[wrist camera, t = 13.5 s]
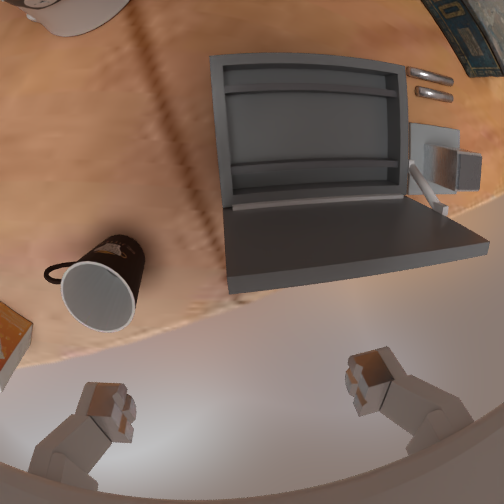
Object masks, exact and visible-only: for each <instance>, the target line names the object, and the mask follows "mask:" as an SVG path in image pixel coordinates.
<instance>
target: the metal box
mask: <svg viewBox="0 0 504 504" xmlns="http://www.w3.org/2000/svg"><path fill="white" fill-rule="evenodd" d="M422 2H423V3H424V4H425V6H426V7H427V9H428V10H429V12H430V13H431V14H432V16H433V18H434V19H435V21H436V22H437V24H438V25H439V27H440V28H441V30H442V31H443V33H444V34H445V36H446V38H447V39H448V41H449V43H450V44H451V46H452V48H453V50H454V51H455V53H456V54H457V56H458V58H459V60H460V61H461V63H462V65H463V67H464V69H465V71H466V73H467V75H468V76H469V77H472V78H473V77H489V76H493V77H504V0H422Z"/></svg>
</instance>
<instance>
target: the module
mask: <svg viewBox="0 0 504 504" xmlns="http://www.w3.org/2000/svg"><path fill="white" fill-rule="evenodd" d="M481 165H482V156H481V154H480V153H476V152H472V151H468V150H463V149H459V148H455V147H450V146H443V145H432V144H424V161H423V177H424V178H425V180H427V181H430V182H432V183H435V184H438V185H440V186H443V187H445V188H448V189H450V190H453V191H479V189H480V178H481Z"/></svg>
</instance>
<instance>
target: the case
mask: <svg viewBox="0 0 504 504" xmlns="http://www.w3.org/2000/svg"><path fill="white" fill-rule="evenodd" d="M209 57H210V71H211V84H212V97H213V109H214V121H215V132H216V144H217V154H218V165H219V175H220V185H221V195H222V205H223V220H224V238H225V255H226V271H227V282H228V290H229V294H238V293H246V292H255V291H264V290H272V289H280V288H288V287H295V286H303V285H310V284H318V283H325V282H332V281H338V280H345V279H352V278H359V277H365V276H372V275H378V274H384V273H390V272H396V271H402V270H408V269H414V268H419V267H424V266H430V265H436V264H441V263H446V262H452V261H457V260H462V259H467V258H472V257H477V256H482V255H486V254H487V252H488V248H489V243H490V241H488V240H486V239H485V238H483V237H481V236H480V235H478V234H476V233H474V232H473V231H471V230H469V229H467V228H466V227H464V226H462V225H460V224H458V223H457V222H455V221H453V220H451V219H450V218H448V217H446V215H447V214H448V206H447V205H445V204H443V203H440V201H439V200H438V198H437V197H436V195H435V193H434V192H433V190H432V189H431V187H430V186H429V184H428V183H427V181H426V180H425V178H424V177H423V175H422V174H421V172H420V171H419V170H418V168H417V167H416V165H415V164H414V160H410V159H408V99H407V83H406V71H405V66H402V65H397V64H392V63H387V62H381V61H375V60H368V59H362V58H354V57H345V56H336V55H324V54H309V53H243V54H227V55H215V56H209ZM408 173H410V174H411V176H412V177H413V179H414V180H415V182H416V183H417V185H418V186H419V188H420V189H421V191H422V193H423V194H424V196H425V197H426V199H427V201H428V202H429V204H430V206H431V207H432V209H431V208H429V207H427V206H425V205H423V204H421V203H419V202H417V201H415V200H413V199H411V198H408V197H406V196H404V195H406V193H407V176H408Z"/></svg>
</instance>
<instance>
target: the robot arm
mask: <svg viewBox="0 0 504 504" xmlns="http://www.w3.org/2000/svg"><path fill="white" fill-rule="evenodd" d="M2 1H5V2H7V3H10V4H12V5H14V6H17V7H18V8H20V9H21V10H23V11H24V12H25V13H27V18H28V19H30V20H31V21H34V22H39V23H41V24H42V25H43V26H44V27H45V28H46V29H47V30H48V31H49V32H51V33H52V34H54V35H57V36H63V37H68V36H76V35H80V34H83V33H86V32H89V31H91V30H93V29H95V28H97V27H99V26H100V25H102V24H104V23H105V22H107V21H108V20H109V19H111V18H112V17H113V16H115V15H116V14H117V13H118V12H119V11H120V10H121V9H122V8H123V7H124V6H125V5H126V4H127V3H128V2H129V0H2ZM348 365H349V369H348V370H347V371H346V375H345V382H346V387H347V390H348V392H349V394H350V395H351V396H353V397H355V398H354V402H353V404H354V406H355V409H356V411H357V413H358V416H359V417H360V416H363V415H367V414H370V413H374V412H377V411H380V412H381V413H382V414H383V415H385V416H386V417H387V418H389V419H390V420H392V421H393V422H394V423H396V424H397V425H399V426H400V427H402V428H403V429H404V430H406V431H407V432H409V433H410V434H412V435H413V438H412V439H411V441H410V442H409V444H408V445H407V447H406V450H407V453H408V455H409V456H407V457H405V458H402V459H400V460H397V461H395V462H392V463H390V464H387V465H385V466H382V467H379V468H376V469H373V470H371V471H368V472H365V473H362V474H358V475H355V476H352V477H349V478H346V479H342V480H338V481H334V482H331V483H327V484H323V485H318V486H314V487H310V488H305V489H301V490H295V491H290V492H284V493H278V494H271V495H264V496H256V497H247V498H235V499H218V500H167V499H153V498H141V497H132V496H124V495H117V494H111V493H104V492H99V491H97V490H98V483H97V481H96V480H94V479H93V478H92V477H91V476H89V475H88V473H89V472H90V471H91V469H92V468H93V467H94V466H95V464H96V463H97V462H98V460H99V459H100V458H101V457H102V455H103V454H104V453H105V452H106V450H107V449H108V448H109V447H110V445H111V444H112V442H120V443H121V442H122V443H131V442H132V437H133V431H134V428H133V427H132V425H131V423H132V422H133V421H134V420H135V419H136V405H135V402H134V400H133V398H132V397H131V396H130V395H128V394H127V388H126V386H125V385H124V384H121V383H98V382H88V383H86V384H85V386H84V389H83V392H82V394H81V398H80V400H79V403H78V406H77V409H76V412H75V415H73V414H72V415H71V416H69V417H68V418H67V419H66V420H65V421H64V422H62V423H61V424H60V425H59V426H58V427H57V428H56V429H55V430H54V431H52V432H51V433H50V434H49V435H48V436H47V437H46V438H44V439H43V440H42V441H41V442H40V443H39V444H38V445H36V447H35V450H34V453H33V456H32V459H31V462H30V466H29V470H28V472H25V471H23V470H20V469H17V468H15V467H12V466H10V465H7V464H5V463H2V462H0V504H504V402H503V403H502V404H501V405H499V406H498V407H496V408H495V409H494V410H492V411H491V412H489V413H487V414H486V415H484V416H483V417H481V418H480V419H478V420H477V421H475V422H474V420H473V419H472V417H471V416H470V414H469V412H468V411H467V409H466V408H465V406H464V405H463V403H462V402H461V400H460V399H459V398H458V397H456V396H454V395H452V394H449V393H447V392H445V391H443V390H441V389H439V388H437V387H435V386H433V385H431V384H429V383H427V382H425V381H423V380H421V379H419V378H417V377H415V376H413V375H407V374H406V373H405V371H404V369H403V368H402V366H401V365H400V363H399V362H398V360H397V359H396V357H395V356H394V354H393V353H392V351H391V350H390V348H389V347H387V346H386V347H383V348H379V349H375V350H371V351H368V352H364V353H360V354H356V355H352V356H350V357H349V359H348Z"/></svg>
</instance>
